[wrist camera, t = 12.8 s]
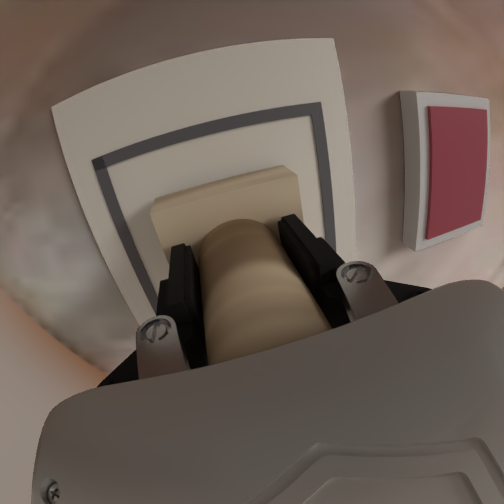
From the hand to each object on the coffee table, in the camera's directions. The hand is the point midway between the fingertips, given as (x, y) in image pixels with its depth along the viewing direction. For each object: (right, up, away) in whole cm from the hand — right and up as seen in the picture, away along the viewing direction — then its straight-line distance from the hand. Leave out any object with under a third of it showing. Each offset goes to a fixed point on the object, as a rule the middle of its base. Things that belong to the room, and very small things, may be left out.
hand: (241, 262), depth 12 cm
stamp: (-1, +1, +3) cm, 3 cm away
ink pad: (+14, +6, +4) cm, 15 cm away
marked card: (-1, +2, +3) cm, 3 cm away
